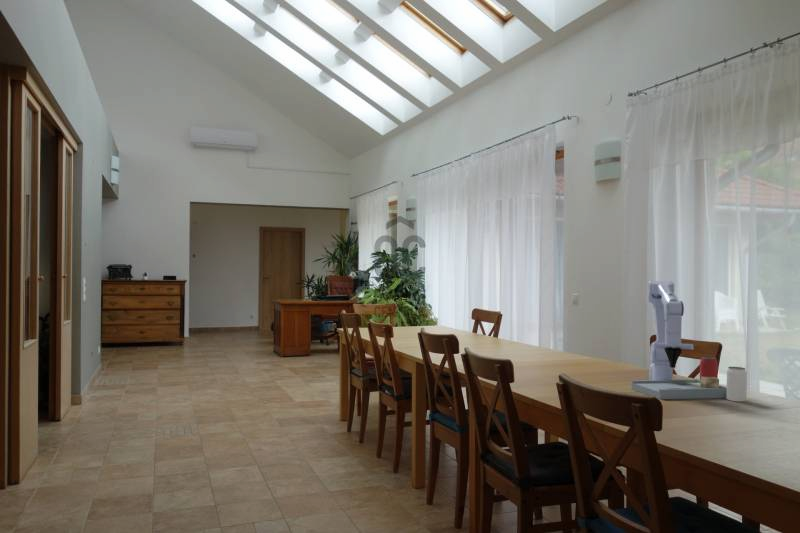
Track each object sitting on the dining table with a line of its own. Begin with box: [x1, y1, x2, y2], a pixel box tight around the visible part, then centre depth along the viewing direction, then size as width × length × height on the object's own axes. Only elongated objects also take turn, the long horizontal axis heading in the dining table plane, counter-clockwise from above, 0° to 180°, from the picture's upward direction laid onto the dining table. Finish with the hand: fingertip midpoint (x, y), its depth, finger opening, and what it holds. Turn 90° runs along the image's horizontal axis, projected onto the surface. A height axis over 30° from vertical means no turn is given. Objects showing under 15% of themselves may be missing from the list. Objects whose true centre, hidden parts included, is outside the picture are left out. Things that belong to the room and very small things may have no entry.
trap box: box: [631, 379, 727, 400], centre depth 240 cm, size 19×29×4 cm, turn 100°
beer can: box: [699, 356, 719, 380], centre depth 255 cm, size 7×7×12 cm
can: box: [725, 366, 748, 403], centre depth 228 cm, size 6×6×12 cm
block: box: [701, 377, 720, 388], centre depth 238 cm, size 5×5×4 cm
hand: (672, 367), depth 240 cm, fingers closed
